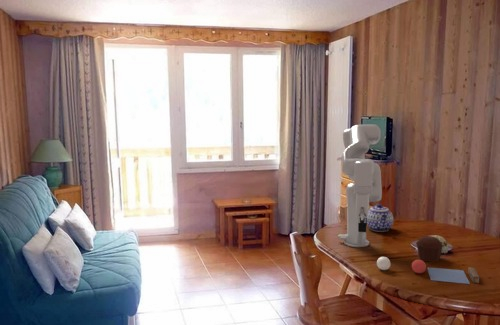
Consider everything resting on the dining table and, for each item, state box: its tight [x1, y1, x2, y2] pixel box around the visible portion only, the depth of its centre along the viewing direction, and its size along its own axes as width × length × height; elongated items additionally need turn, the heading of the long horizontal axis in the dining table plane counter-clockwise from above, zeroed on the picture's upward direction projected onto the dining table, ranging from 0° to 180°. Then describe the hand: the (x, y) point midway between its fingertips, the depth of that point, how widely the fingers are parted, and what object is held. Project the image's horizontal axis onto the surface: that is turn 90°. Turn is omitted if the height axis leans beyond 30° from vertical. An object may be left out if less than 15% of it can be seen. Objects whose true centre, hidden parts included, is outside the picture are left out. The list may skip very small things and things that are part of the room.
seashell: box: [432, 234, 449, 254], centre depth 201 cm, size 10×10×10 cm
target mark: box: [426, 266, 471, 285], centre depth 170 cm, size 14×14×1 cm
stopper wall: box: [467, 267, 480, 284], centre depth 167 cm, size 2×10×2 cm, turn 163°
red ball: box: [411, 259, 427, 274], centre depth 173 cm, size 6×6×6 cm
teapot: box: [366, 203, 394, 233], centre depth 237 cm, size 25×15×15 cm, turn 173°
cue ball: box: [376, 256, 392, 271], centre depth 177 cm, size 6×6×6 cm
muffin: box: [415, 235, 443, 262], centre depth 190 cm, size 12×11×10 cm
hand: (362, 229), depth 178 cm, fingers open, 9 cm apart
